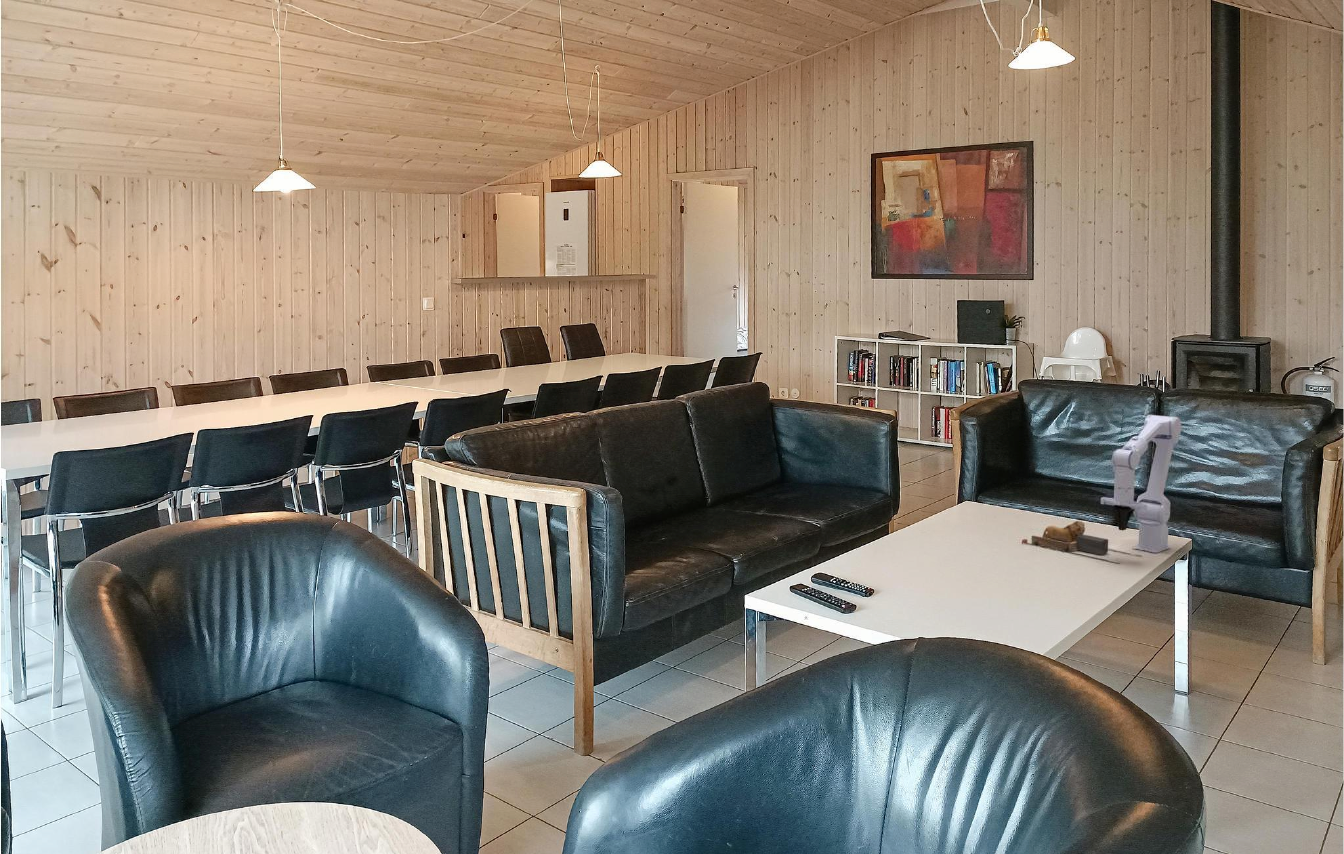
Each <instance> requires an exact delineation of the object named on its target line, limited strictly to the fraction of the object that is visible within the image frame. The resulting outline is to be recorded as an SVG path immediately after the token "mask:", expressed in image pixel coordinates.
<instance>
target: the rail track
mask: <svg viewBox="0 0 1344 854" xmlns="http://www.w3.org/2000/svg"><path fill="white" fill-rule="evenodd" d="M1046 535H1047V532H1046V534H1045V536H1046ZM1045 536H1044V537H1045ZM1052 539H1053V538H1052ZM1053 540H1054V539H1053ZM1056 540H1057V541H1059V540H1058V539H1056ZM1065 542H1067V541H1065ZM1023 543H1024V544H1025V545H1030V546H1033V547H1038V546H1039V548H1043V549H1047V548H1049V549H1048V550H1053V551H1056V550H1057V551H1058V552H1062V553H1066V554H1070V555H1075V556H1080V557H1084V558H1089V559H1094V560H1099V561H1102V562H1107V563H1113V564H1117V565H1119V564H1121V562H1118V561H1113V560H1110V559H1108V560H1107V559H1104V558H1100V557H1096V556H1091V555H1085V554H1081V553H1077V552H1074V551H1071V552H1068V551H1064V550H1059V549H1055V548H1050V547H1045V546H1041V545H1035V544H1032V542H1031V543H1030V542H1028V539H1026V538H1024V539H1022V540H1021V544H1023ZM1067 543H1068V542H1067ZM1024 544H1023V545H1024ZM1110 550H1111V552H1115V553H1119V552H1121V553H1120V554H1124V555H1129V554H1132V553H1130V552H1127V551H1126V552H1125V551H1121V550H1116V549H1111V548H1108V551H1110ZM1138 556H1142V555H1141V554H1140V555H1139V554H1136V556H1135V557H1138Z"/></svg>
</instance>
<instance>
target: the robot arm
mask: <svg viewBox="0 0 1344 854" xmlns="http://www.w3.org/2000/svg"><path fill="white" fill-rule="evenodd" d="M1181 432H1182V422H1181V420H1180V418H1179V416H1166V415H1155V414H1148V415H1147V416H1145V419H1144V422H1143V428H1142V429H1141V431H1140V433H1139V434H1138V435H1135V436H1132V437H1131V438H1130V439H1129V440H1128V441H1127V443H1126V444H1124V445H1123V447H1122V448H1117V449H1116V450H1114V451H1113V453H1112V456H1111V464H1112V471H1113V473H1114V482H1113V483H1114V486H1113V489H1114V490H1113V497H1107V496H1106V497H1105V496H1102V497H1101V498H1100V505H1108V506H1113V507H1111V511H1112V513H1113V514H1114V518H1115V519H1116V523H1117V527H1118V530H1119V531H1126V530H1127V528H1128V524H1129V521H1130V519H1131V517H1132V515H1133V516H1134V518H1135V519H1136V520H1137V521H1136V522H1138V523H1139V524H1138V525H1139V526H1138V542H1137V543H1138V544H1137V545H1135V546H1132V549H1134V548H1135V549H1134V550H1138V549H1139V551H1143V550H1145V552H1149V553H1154V554H1157V553H1159V552H1163V551H1165V550H1166V551H1167V550H1169V549H1171V546H1168V544H1169V541H1168V540H1169V527H1168V525H1167V523H1168V521H1169V519H1170V516H1171V501H1170V499H1168V498H1167V496H1165V495H1164V492H1165V487H1166V483H1167V477H1168V474H1169V469H1170V464H1171V459H1172V455H1173V451H1174V450H1173V449H1174V445H1176V444H1178V443H1179V440H1180V436H1181ZM1149 442H1153V443H1155V452H1154V456H1153V461H1152V464H1151V469H1150V475H1149V479H1148V484H1147V488H1146V491H1145V492H1144V493H1141V494H1139V495H1138V497H1137V499H1136V501H1134V498H1135V478H1136V477H1135V475H1136V474H1135V471H1136V469H1137V468H1138V466H1139V463H1140V460H1141V457H1142V455H1143V454H1144V453H1145V452H1146V451H1147V450H1148V448H1149Z"/></svg>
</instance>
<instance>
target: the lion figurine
mask: <svg viewBox="0 0 1344 854" xmlns="http://www.w3.org/2000/svg"><path fill="white" fill-rule="evenodd" d="M1085 530H1086V527H1085V522H1083V521H1081V520H1076V521H1074V522H1072V523H1071V524H1068V525H1066V526H1065V527H1058V526H1055V525H1048V526H1047V527H1046V528H1045V529H1044V531H1043V534H1042V537H1043V538H1048V539H1052V538H1053V536H1054V535H1055V536H1056V537H1058V538H1061V539H1068V542H1067V543H1071V542H1073V540H1074V539H1076V536H1079V535H1083V534H1084V533H1085ZM1046 533H1047V535H1046V536H1045V534H1046ZM1084 535H1085V534H1084ZM1044 536H1045V537H1044Z"/></svg>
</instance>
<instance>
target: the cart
mask: <svg viewBox="0 0 1344 854" xmlns="http://www.w3.org/2000/svg"><path fill="white" fill-rule="evenodd" d="M1057 539H1058V540H1057ZM1066 541H1067V542H1066ZM1031 544H1035V545H1040V546H1045V547H1049V548H1054V549H1059V550H1063V551H1068V552H1075V551H1082V552H1086V553H1089V554H1090V553H1091V554H1096V555H1105V554H1108V553H1109V550H1108V549H1109V539H1108V538H1102V537H1098V536H1093V535H1087V534H1083V535H1079V536H1076V539H1074V540H1073V542H1071V543H1068V539H1061V538H1058V537H1056V536H1055V535H1054V536H1053V539H1049V538H1043V536H1039V535H1038V536H1037V535H1032V536H1031Z"/></svg>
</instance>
